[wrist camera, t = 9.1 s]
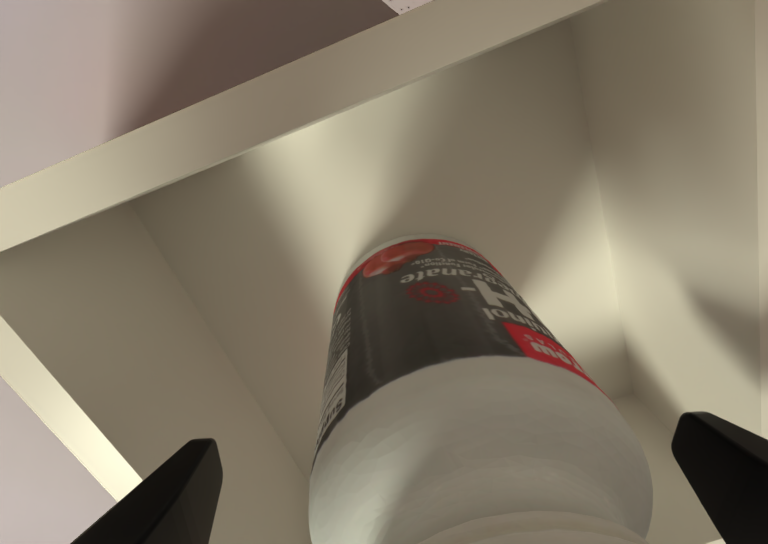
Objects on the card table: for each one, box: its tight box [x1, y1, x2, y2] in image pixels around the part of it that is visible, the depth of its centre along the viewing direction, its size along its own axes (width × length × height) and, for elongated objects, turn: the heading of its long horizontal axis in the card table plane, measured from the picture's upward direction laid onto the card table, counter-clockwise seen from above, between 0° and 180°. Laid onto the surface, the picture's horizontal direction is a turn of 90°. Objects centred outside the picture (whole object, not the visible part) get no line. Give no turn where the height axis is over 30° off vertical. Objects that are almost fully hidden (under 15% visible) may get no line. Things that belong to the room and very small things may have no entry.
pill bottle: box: [308, 234, 653, 544], centre depth 8 cm, size 5×5×10 cm
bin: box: [0, 0, 768, 544], centre depth 11 cm, size 14×14×6 cm
